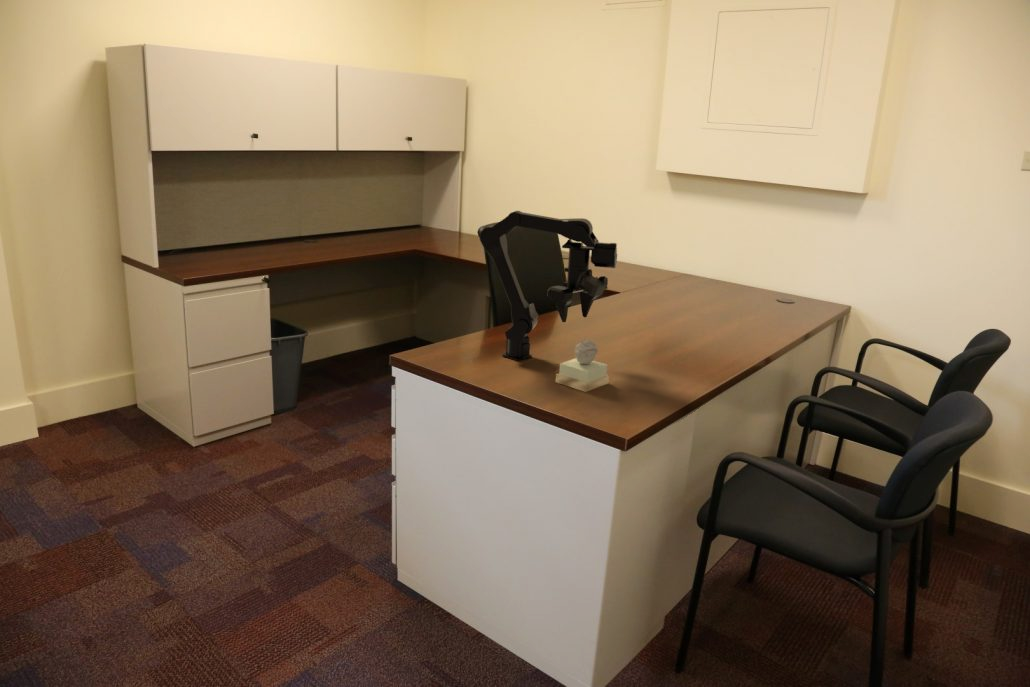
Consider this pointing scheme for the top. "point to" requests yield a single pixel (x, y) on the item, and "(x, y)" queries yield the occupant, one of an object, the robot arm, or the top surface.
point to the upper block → (583, 370)
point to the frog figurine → (585, 351)
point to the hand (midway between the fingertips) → (574, 319)
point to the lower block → (580, 384)
